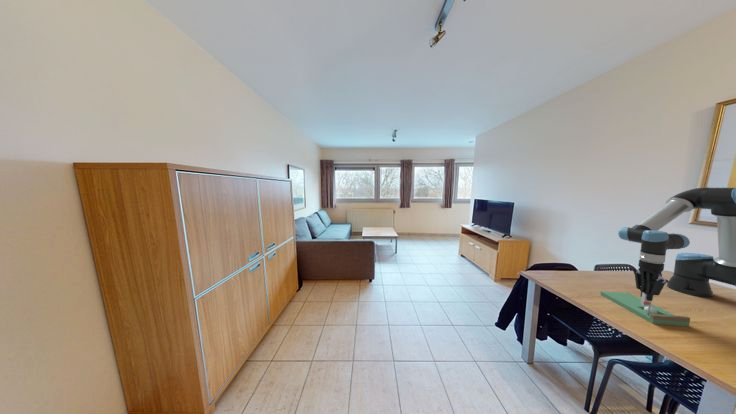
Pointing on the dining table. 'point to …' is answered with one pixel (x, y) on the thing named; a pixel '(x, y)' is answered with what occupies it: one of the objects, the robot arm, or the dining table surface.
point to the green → (635, 306)
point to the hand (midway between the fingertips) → (645, 305)
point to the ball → (652, 311)
